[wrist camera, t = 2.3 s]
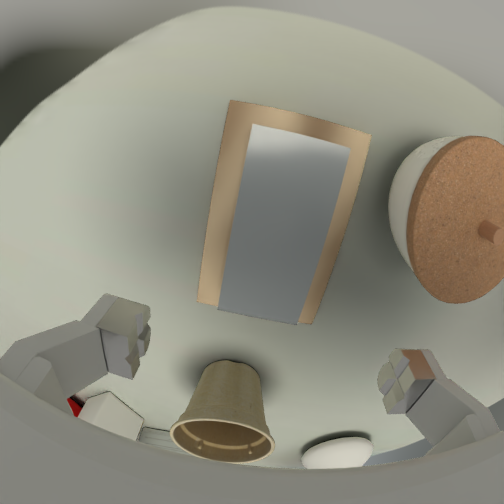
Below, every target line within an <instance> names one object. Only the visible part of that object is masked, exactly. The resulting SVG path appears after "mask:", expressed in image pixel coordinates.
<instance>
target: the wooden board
mask: <svg viewBox="0 0 504 504" xmlns="http://www.w3.org/2000/svg"><path fill="white" fill-rule="evenodd" d="M253 124H256V125H261V126H266V127H271V128H275V129H280V130H284V131H289V132H293V133H297V134H301V135H305V136H309V137H313V138H317V139H320V140H324V141H328V142H331V143H335V144H338V145H341V146H345V147H348V148H351V150H350V154H349V158H348V162H347V166H346V169H345V173H344V177H343V181H342V185H341V188H340V192H339V196H338V199H337V203H336V206H335V210H334V213H333V217H332V220H331V223H330V227H329V230H328V233H327V237H326V240H325V243H324V246H323V250H322V253H321V256H320V259H319V262H318V265H317V268H316V271H315V274H314V277H313V280H312V283H311V286H310V289H309V292H308V295H307V298H306V300H305V303H304V306H303V309H302V312H301V314H300V317H299V320H298V322H300V323H306V324H312V323H313V320H314V318H315V315H316V313H317V310H318V308H319V305H320V302H321V300H322V297H323V295H324V292H325V289H326V286H327V284H328V281H329V278H330V275H331V273H332V270H333V267H334V264H335V261H336V258H337V255H338V252H339V249H340V246H341V243H342V240H343V237H344V234H345V231H346V228H347V225H348V221H349V218H350V215H351V211H352V208H353V205H354V201H355V198H356V194H357V191H358V187H359V184H360V180H361V176H362V173H363V169H364V165H365V161H366V157H367V153H368V149H369V145H370V141H371V136H372V135H369V134H367V133H364V132H361V131H358V130H355V129H352V128H349V127H345V126H342V125H339V124H336V123H332V122H329V121H325V120H322V119H318V118H314V117H311V116H307V115H303V114H299V113H295V112H290V111H286V110H282V109H277V108H272V107H267V106H262V105H257V104H252V103H246V102H240V101H234V100H230V103H229V108H228V112H227V117H226V122H225V127H224V132H223V137H222V142H221V147H220V153H219V158H218V164H217V169H216V175H215V180H214V186H213V192H212V198H211V204H210V210H209V217H208V223H207V230H206V236H205V243H204V250H203V257H202V265H201V272H200V280H199V288H198V296H197V302H201V303H205V304H209V305H214V306H218V303H219V297H220V291H221V285H222V280H223V274H224V268H225V263H226V257H227V252H228V246H229V241H230V235H231V230H232V225H233V219H234V214H235V209H236V204H237V198H238V193H239V188H240V183H241V178H242V173H243V168H244V163H245V158H246V153H247V148H248V144H249V139H250V134H251V129H252V125H253Z"/></svg>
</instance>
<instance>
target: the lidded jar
mask: <svg viewBox="0 0 504 504" xmlns="http://www.w3.org/2000/svg"><path fill="white" fill-rule="evenodd" d="M388 214H389V222H390V228H391V231H392V235H393V238H394V240H395V243H396V245H397V247H398V249H399V251H400V253H401V255H402V256H403V258H404V260H405V261H406V263H407V264H408V265H409V267H410V268H411V269H412V271H413V272H414V273H415V275H416V277H417V278H418V280H419V281H420V283H421V284H422V285H423V287H424V288H425V289H426V290H427V291H428V292H429V293H430V294H431V295H432V296H434V297H435V298H437V299H438V300H440V301H443V302H446V303H454V304H458V303H466V302H470V301H473V300H475V299H477V298H480V297H482V296H483V295H485V294H486V293H488V292H489V291H490V290H492V289H493V288H494V287H495V286H496V285H497V284H498V283H499V282H500V281H501V280H502V279H503V278H504V146H503V145H502V144H500V143H499V142H497V141H496V140H493V139H490V138H487V137H481V136H465V137H463V136H450V137H443V138H438V139H434V140H432V141H429V142H427V143H424V144H422V145H421V146H419V147H418V148H416V149H415V150H414V151H413V152H412V153H411V154H410V155H408V156H407V157H406V158H405V160H404V161H403V162H402V164H401V165H400V166H399V168H398V170H397V172H396V174H395V176H394V179H393V181H392V184H391V188H390V193H389V201H388Z"/></svg>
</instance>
